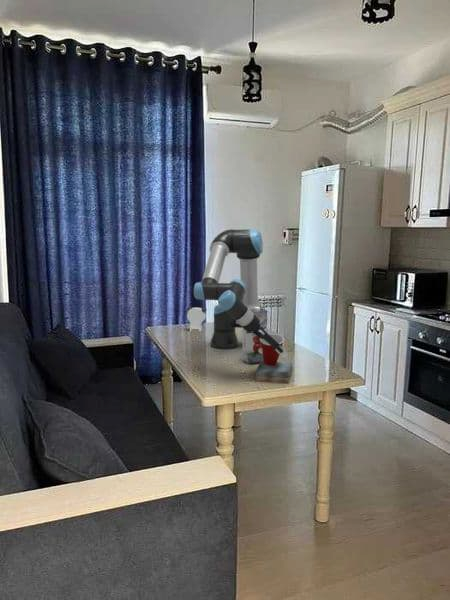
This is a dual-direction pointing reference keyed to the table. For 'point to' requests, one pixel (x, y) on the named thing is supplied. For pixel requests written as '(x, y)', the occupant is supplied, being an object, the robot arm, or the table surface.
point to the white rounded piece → (196, 317)
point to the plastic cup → (271, 350)
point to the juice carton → (254, 339)
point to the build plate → (273, 379)
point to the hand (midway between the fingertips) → (279, 352)
